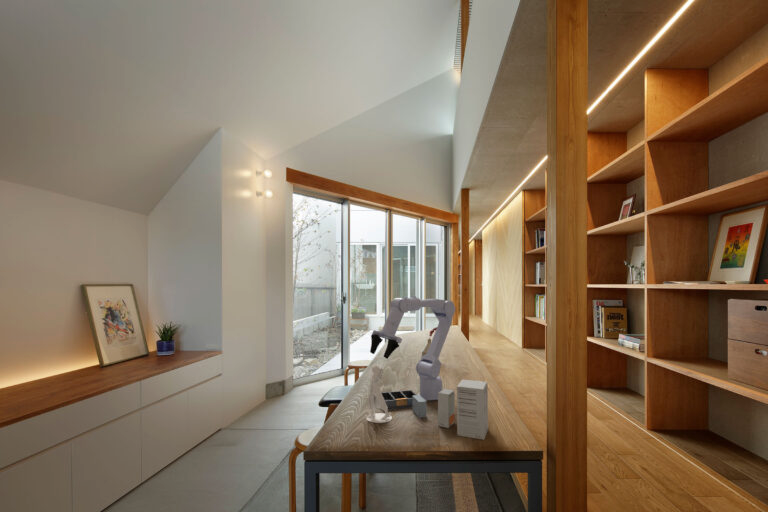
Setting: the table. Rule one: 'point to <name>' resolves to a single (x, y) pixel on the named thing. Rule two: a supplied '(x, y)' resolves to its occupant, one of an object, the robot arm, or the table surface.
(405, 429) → the table surface
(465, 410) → the supplement box
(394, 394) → the divided tray
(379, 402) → the female figurine
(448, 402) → the skincare box
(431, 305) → the robot arm
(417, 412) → the grey rectangular block
